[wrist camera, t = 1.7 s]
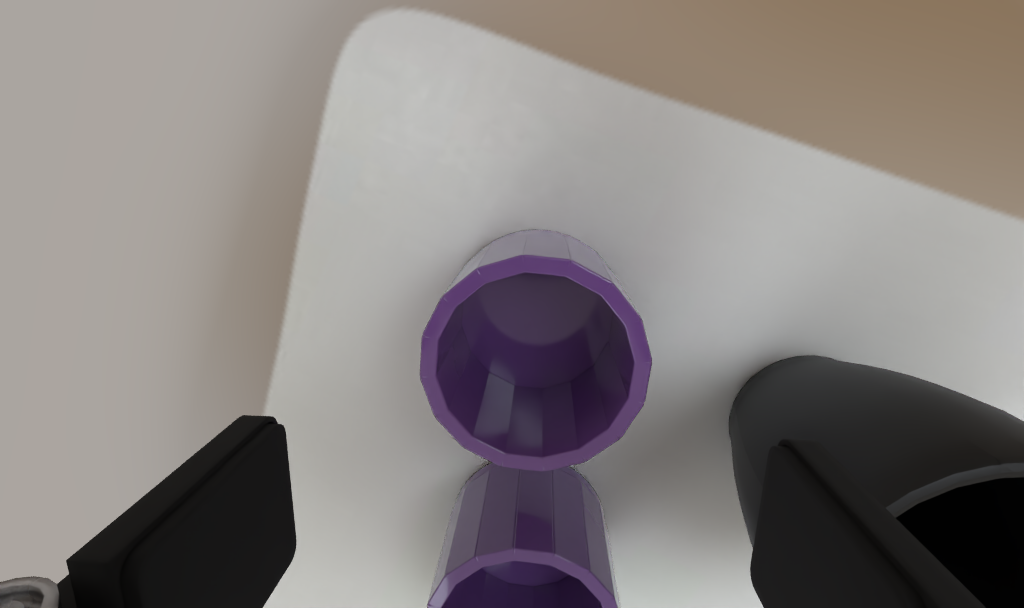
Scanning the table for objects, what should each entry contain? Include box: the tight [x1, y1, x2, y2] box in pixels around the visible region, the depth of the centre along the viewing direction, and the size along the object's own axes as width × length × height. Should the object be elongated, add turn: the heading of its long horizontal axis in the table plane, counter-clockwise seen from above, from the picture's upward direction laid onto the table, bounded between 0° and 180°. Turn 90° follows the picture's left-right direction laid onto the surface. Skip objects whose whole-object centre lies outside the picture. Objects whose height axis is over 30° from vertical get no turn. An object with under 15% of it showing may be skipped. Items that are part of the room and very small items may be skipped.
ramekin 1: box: [420, 230, 652, 472], centre depth 18 cm, size 7×7×6 cm
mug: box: [729, 356, 1024, 608], centre depth 16 cm, size 8×12×10 cm
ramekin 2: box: [427, 463, 621, 608], centre depth 20 cm, size 7×7×6 cm
